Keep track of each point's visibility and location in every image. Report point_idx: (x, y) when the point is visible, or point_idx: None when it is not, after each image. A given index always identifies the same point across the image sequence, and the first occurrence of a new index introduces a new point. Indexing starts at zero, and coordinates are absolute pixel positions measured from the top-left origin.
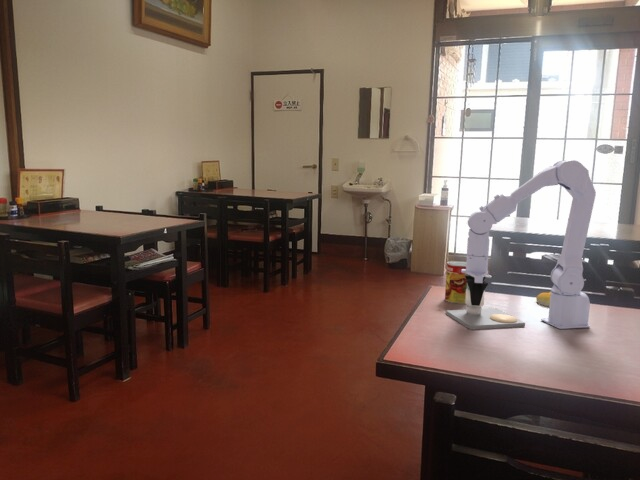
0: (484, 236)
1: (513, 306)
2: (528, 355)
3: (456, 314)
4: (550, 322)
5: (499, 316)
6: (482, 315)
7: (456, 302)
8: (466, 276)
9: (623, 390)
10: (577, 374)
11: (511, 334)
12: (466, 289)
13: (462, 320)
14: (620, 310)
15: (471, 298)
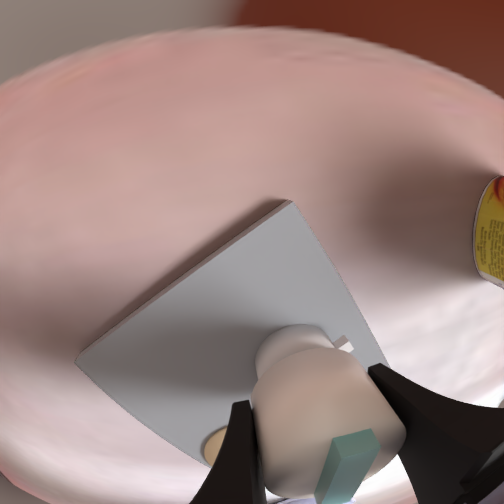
0: None
1: None
2: (27, 447)
3: (227, 280)
4: (294, 501)
5: None
6: None
7: (476, 231)
8: (481, 460)
9: (27, 490)
10: (24, 474)
11: (133, 454)
12: (344, 428)
13: (126, 326)
14: (416, 498)
15: (224, 437)
